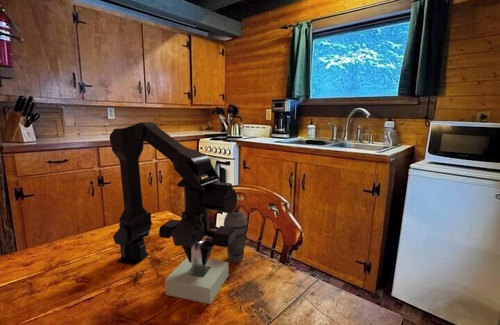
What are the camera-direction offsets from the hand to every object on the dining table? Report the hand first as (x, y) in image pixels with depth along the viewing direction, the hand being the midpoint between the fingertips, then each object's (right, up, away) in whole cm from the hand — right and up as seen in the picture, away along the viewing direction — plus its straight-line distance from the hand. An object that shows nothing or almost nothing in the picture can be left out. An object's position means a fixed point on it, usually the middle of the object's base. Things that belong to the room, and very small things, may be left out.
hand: (198, 263), depth 71 cm
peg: (0, -2, 0) cm, 2 cm away
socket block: (0, -6, +1) cm, 6 cm away
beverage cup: (+9, -4, +14) cm, 17 cm away
